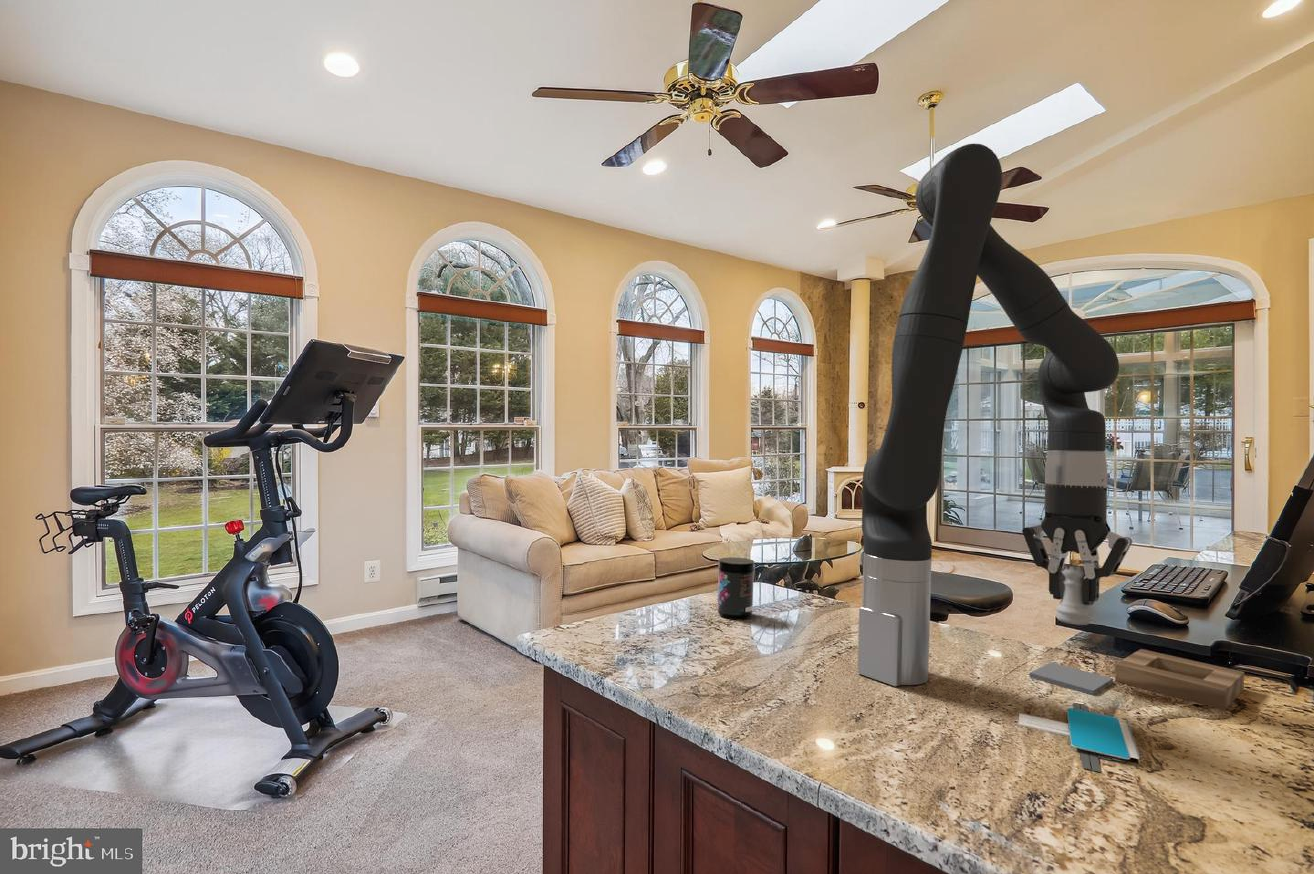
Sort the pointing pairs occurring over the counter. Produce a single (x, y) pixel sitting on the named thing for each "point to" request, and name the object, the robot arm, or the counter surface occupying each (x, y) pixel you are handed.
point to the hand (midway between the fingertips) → (1073, 600)
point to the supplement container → (735, 588)
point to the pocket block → (1181, 678)
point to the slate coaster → (1071, 678)
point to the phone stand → (1090, 735)
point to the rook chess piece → (1073, 597)
